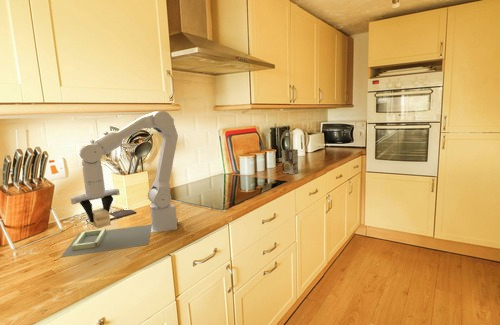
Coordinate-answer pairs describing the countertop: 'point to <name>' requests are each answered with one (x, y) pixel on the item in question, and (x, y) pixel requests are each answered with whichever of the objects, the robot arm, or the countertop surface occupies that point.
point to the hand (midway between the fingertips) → (99, 219)
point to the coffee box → (290, 161)
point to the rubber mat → (114, 240)
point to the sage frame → (91, 244)
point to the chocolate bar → (119, 214)
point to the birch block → (100, 217)
